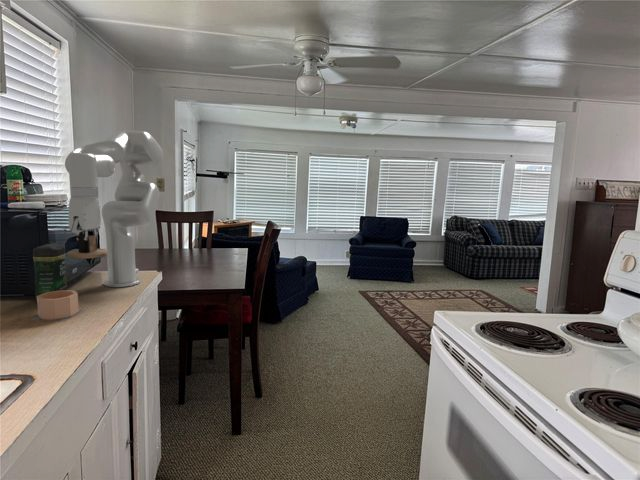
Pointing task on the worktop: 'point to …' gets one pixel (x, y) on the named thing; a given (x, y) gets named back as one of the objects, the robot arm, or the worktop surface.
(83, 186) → the robot arm
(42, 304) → the bowl
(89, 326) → the worktop surface
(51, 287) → the coffee jar
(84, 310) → the mat
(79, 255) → the lid
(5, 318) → the worktop surface
